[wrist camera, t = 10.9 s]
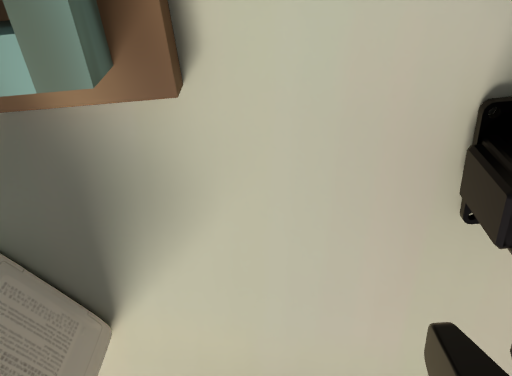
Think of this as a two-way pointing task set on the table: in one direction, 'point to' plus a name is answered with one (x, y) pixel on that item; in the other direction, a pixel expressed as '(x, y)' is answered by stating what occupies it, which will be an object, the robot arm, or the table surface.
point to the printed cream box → (46, 329)
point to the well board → (132, 59)
